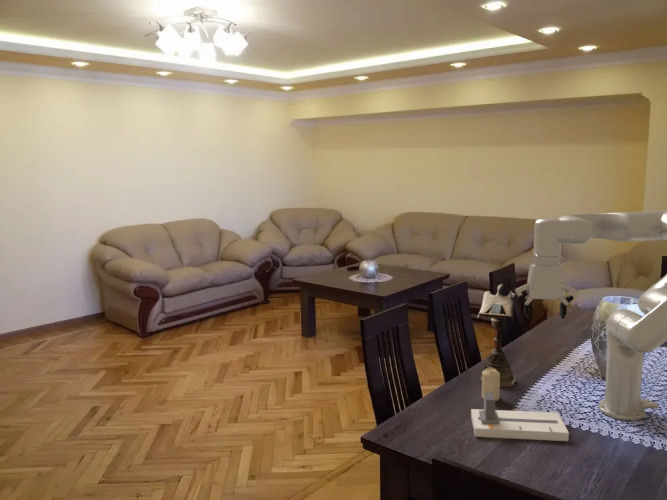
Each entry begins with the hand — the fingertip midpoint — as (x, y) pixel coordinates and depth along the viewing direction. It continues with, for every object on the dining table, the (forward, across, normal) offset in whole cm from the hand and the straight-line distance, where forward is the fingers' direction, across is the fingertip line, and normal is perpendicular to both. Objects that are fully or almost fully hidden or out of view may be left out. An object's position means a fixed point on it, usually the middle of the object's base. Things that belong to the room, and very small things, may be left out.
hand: (544, 317), depth 161 cm
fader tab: (+27, +17, +11) cm, 34 cm away
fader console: (+30, +9, +11) cm, 33 cm away
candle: (+31, +14, -9) cm, 35 cm away
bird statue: (+31, +10, -21) cm, 38 cm away
